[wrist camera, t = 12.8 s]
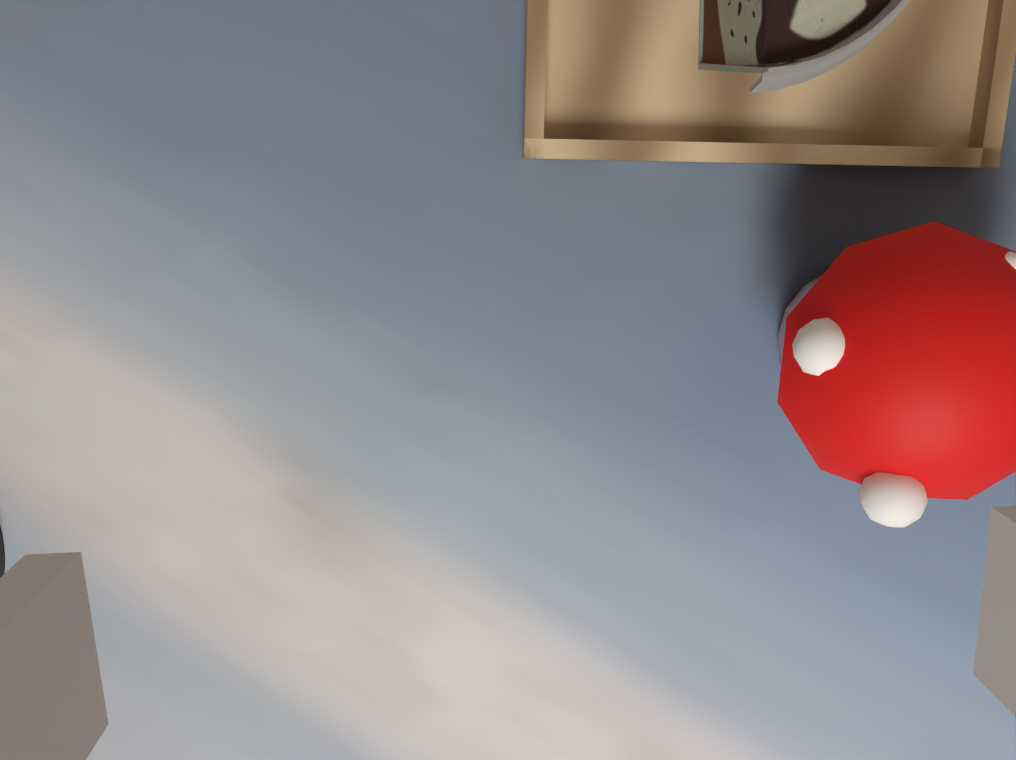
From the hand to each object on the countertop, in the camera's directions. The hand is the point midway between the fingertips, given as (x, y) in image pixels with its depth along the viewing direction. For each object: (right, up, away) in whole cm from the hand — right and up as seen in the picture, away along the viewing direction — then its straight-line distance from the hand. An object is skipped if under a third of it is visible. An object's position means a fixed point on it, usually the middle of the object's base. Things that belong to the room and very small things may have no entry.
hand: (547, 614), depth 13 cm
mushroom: (+15, +6, +28) cm, 33 cm away
